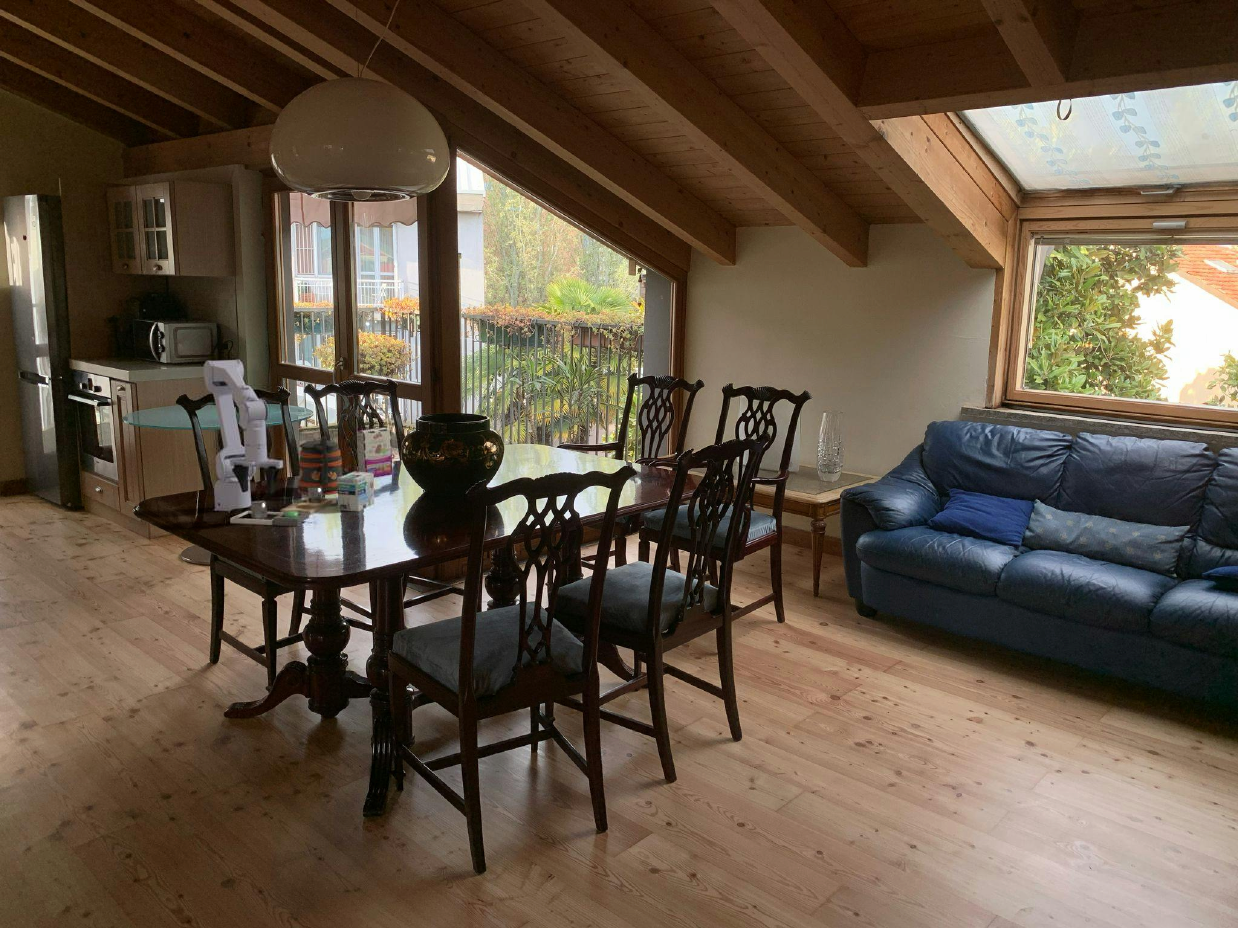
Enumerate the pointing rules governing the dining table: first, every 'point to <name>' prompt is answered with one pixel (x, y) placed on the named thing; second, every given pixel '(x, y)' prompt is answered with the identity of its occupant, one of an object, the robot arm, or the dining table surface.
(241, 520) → the white rectangular frame
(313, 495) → the billet
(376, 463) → the candy bar box
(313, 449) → the grey orange striped backpack
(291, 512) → the button
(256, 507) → the billet
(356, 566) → the dining table surface
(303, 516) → the console
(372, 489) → the light bulb box
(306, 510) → the pallet board
